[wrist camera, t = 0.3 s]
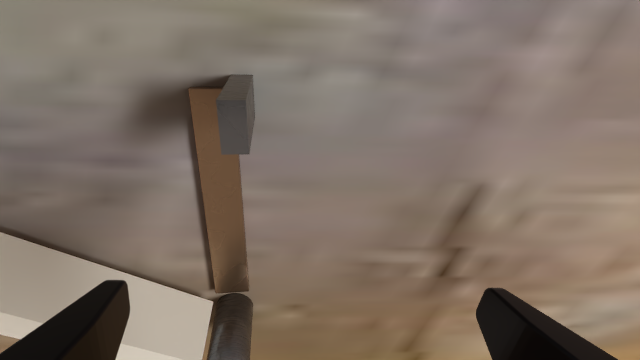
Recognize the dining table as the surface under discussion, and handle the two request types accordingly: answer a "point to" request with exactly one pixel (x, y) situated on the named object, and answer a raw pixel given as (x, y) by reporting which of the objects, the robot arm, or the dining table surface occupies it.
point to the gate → (82, 276)
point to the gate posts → (226, 205)
